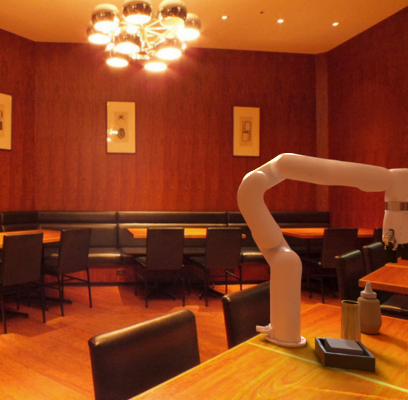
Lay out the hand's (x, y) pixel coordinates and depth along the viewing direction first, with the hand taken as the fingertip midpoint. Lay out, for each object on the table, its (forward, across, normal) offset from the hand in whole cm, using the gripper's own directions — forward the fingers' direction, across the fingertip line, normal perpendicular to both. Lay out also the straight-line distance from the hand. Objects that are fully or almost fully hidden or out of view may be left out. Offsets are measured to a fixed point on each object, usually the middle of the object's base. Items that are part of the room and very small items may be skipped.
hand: (399, 261), depth 120 cm
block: (+28, +23, -4) cm, 37 cm away
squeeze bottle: (+29, -10, -14) cm, 34 cm away
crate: (+29, +23, -4) cm, 37 cm away
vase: (+29, +8, -10) cm, 32 cm away
